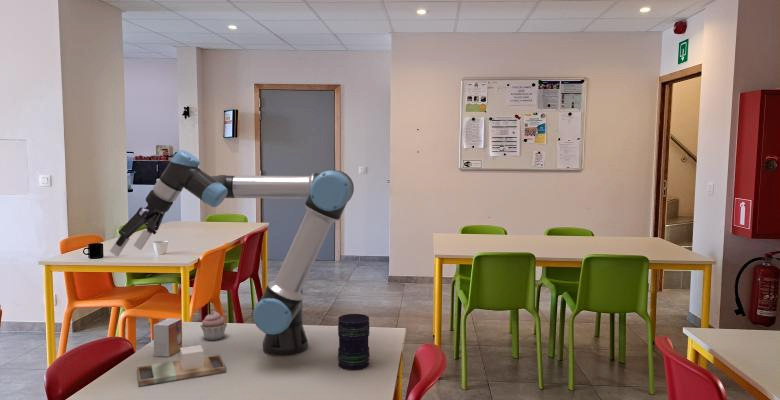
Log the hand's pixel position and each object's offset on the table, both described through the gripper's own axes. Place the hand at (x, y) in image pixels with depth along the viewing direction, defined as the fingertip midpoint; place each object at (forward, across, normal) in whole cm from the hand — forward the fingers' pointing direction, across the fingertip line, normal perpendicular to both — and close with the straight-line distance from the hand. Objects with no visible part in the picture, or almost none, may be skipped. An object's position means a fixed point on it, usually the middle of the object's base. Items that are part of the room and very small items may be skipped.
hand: (125, 250), depth 172 cm
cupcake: (+18, -25, +35) cm, 47 cm away
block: (+14, +6, +39) cm, 42 cm away
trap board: (+17, +8, +38) cm, 42 cm away
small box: (+24, -9, +28) cm, 38 cm away
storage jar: (-12, -2, +79) cm, 80 cm away
